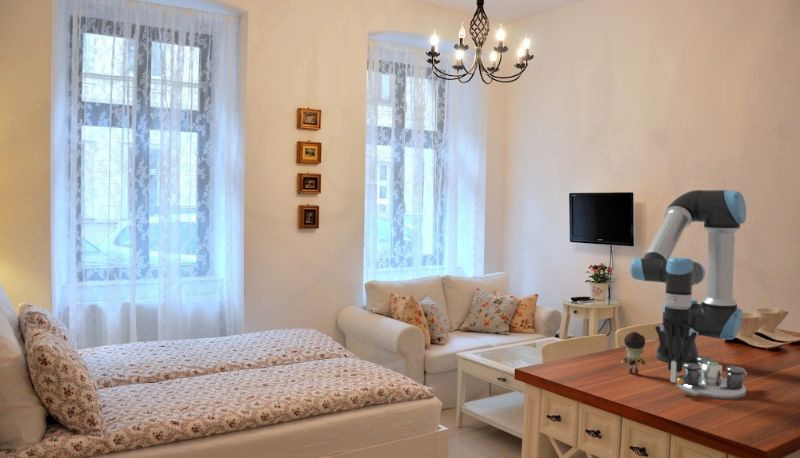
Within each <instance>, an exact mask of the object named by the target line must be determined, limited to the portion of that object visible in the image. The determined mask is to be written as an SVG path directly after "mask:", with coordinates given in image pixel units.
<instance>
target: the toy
mask: <svg viewBox="0 0 800 458" xmlns="http://www.w3.org/2000/svg"><path fill="white" fill-rule="evenodd" d="M645 344H646V338H645V336H644V335H642V334H640V333H639V332H638V331H632V332H630V333H628V334H626V336H624V345H625V353H626V354H627V355H626V356H625V357H624V358H623V359H622V360H621V362H620V364H622V365H623V364H626V365H628V366H629V370H628V371H629V374H630V375H632V374H633V373H634V374H635V375H638V374H639V370H638V369H639V367H638V366H640V365H639V363H641V365H642V366H643V367H645V368H647V367H648V364H647V363H646V362H645V360H644V359H643V358H642V357H641V355H643V354H644V353H643V352H644V351H645V350H644V347H645ZM633 367H634V369H633ZM633 371H634V372H633Z"/></svg>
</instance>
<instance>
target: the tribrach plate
mask: <svg viewBox="0 0 800 458" xmlns="http://www.w3.org/2000/svg"><path fill="white" fill-rule="evenodd" d="M722 372H723V364H720V363H718V364H717V363H716V362H713V361H707V362H703V363H701V377H700V376H699V384H698V385H691V384H684V385H683V386H682V385H678V384H677V383H676V387H678V389H680V390H681V391H683V392H685V393H689V394H692V395H695V396H700V397H704V398H708V399H709V398H710V399H717V400H736V399H737V400H739V399H742V398H745V397H746V394H747V387H746V385H744V384H743V385H742V389H734V388H730V387H727V377H723V376H722V375H723V373H722Z"/></svg>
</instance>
